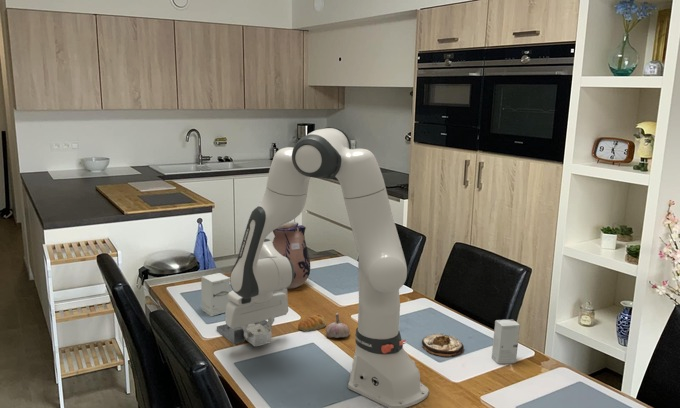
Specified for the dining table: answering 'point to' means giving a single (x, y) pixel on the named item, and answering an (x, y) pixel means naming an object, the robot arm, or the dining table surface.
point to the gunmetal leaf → (235, 332)
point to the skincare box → (505, 341)
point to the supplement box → (215, 293)
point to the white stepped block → (258, 334)
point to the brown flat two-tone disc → (442, 345)
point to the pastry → (312, 323)
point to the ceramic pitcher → (293, 250)
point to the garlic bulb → (337, 329)
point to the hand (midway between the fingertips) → (257, 334)
